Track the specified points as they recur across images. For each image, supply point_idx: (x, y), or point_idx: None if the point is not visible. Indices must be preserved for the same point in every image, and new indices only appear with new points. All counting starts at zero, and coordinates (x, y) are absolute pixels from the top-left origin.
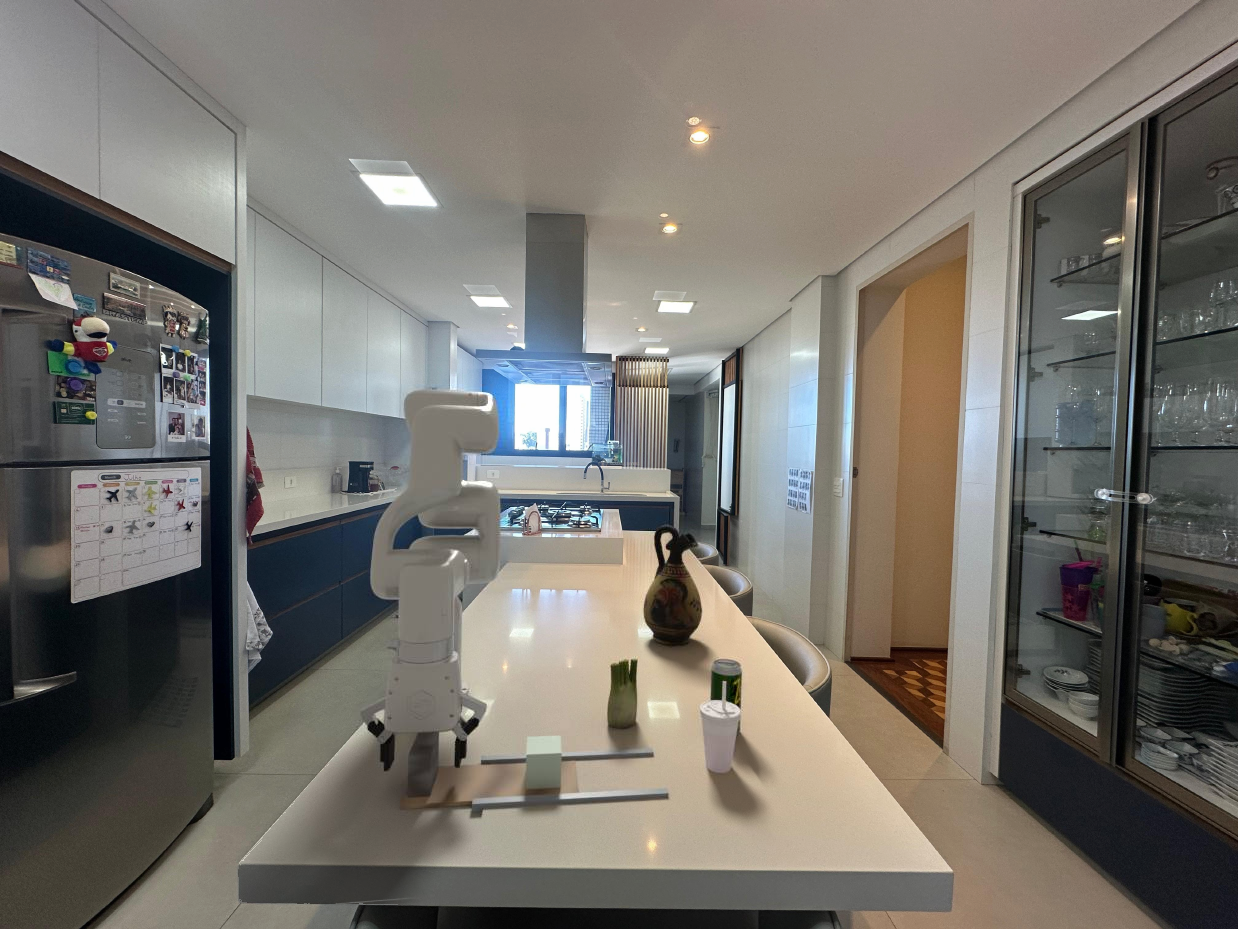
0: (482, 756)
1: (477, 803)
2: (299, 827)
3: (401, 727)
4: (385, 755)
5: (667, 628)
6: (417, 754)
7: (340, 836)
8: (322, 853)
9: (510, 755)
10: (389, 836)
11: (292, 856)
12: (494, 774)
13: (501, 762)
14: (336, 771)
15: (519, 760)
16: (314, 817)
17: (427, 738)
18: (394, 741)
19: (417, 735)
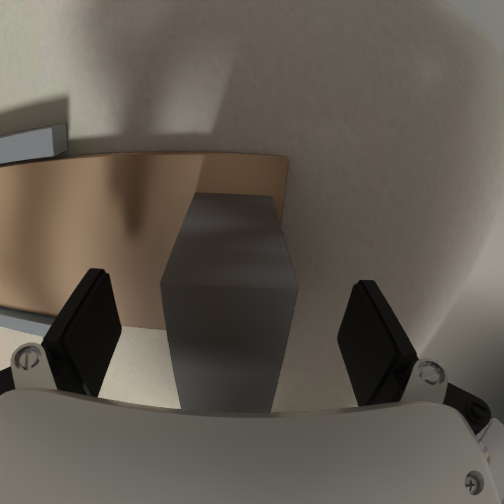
0: None
1: (39, 131)
2: (498, 152)
3: (386, 442)
4: (391, 318)
5: None
6: (242, 285)
7: (429, 80)
8: (450, 33)
9: (38, 333)
10: (300, 34)
11: (494, 55)
12: (47, 276)
13: (52, 319)
14: (430, 332)
15: (20, 315)
16: (480, 180)
17: (219, 395)
18: (354, 387)
19: (267, 411)
